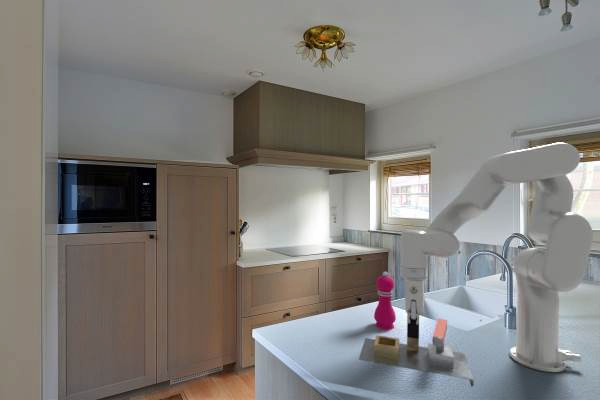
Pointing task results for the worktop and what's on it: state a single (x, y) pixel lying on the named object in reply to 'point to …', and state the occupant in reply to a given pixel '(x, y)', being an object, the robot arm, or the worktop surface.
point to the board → (423, 359)
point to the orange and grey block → (439, 334)
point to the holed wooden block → (386, 347)
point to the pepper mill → (385, 303)
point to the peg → (413, 340)
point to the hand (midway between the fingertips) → (412, 333)
